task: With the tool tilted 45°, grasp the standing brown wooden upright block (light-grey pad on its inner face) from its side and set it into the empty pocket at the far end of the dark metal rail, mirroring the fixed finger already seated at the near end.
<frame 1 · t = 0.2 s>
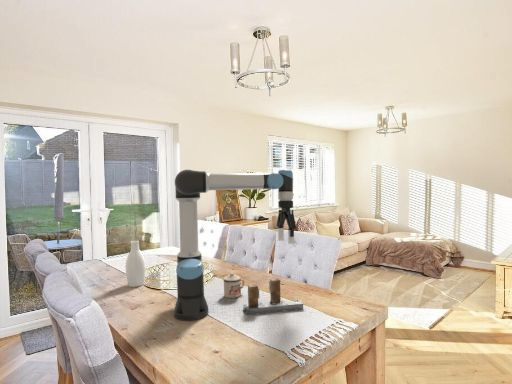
hand: (285, 242, 170), 27 cm above the table, tool pointing down, fingers open, 13 cm apart
teacup with lid: (234, 295, 173), on the table
bottle: (136, 285, 195), on the table
fixed finger: (253, 309, 154), on the table
rail: (274, 310, 151), on the table
brown wooden upright block: (275, 301, 162), on the table
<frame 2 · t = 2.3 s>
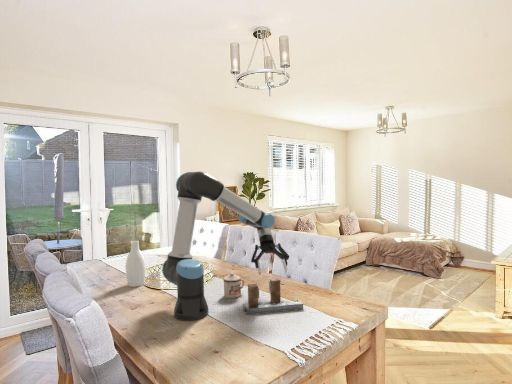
hand: (273, 272, 169), 12 cm above the table, tool tilted 45°, fingers open, 13 cm apart
nothing on the table moved.
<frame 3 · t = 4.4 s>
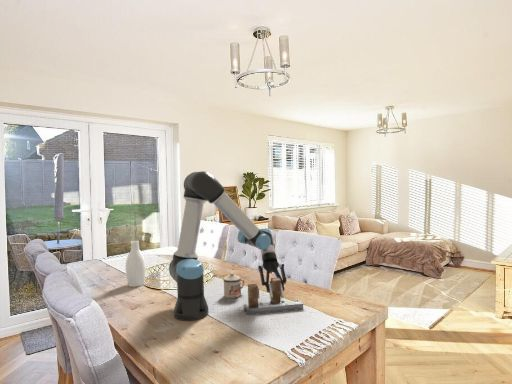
hand: (277, 297, 158), 3 cm above the table, tool tilted 45°, fingers closed on brown wooden upright block, 5 cm apart
brown wooden upright block: (275, 301, 162), on the table, touching gripper
everything else where it was.
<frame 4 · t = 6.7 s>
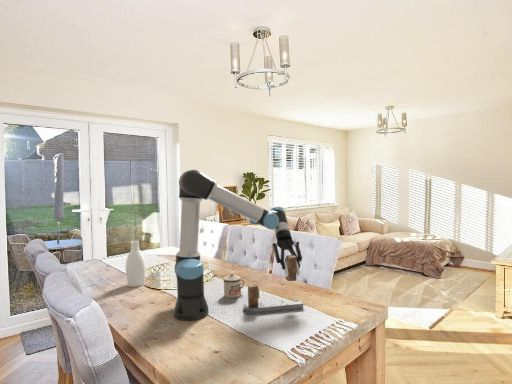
hand: (293, 274, 153), 16 cm above the table, tool tilted 45°, fingers closed on brown wooden upright block, 5 cm apart
brown wooden upright block: (291, 279, 156), point 12 cm above the table, touching gripper
everything else where it was.
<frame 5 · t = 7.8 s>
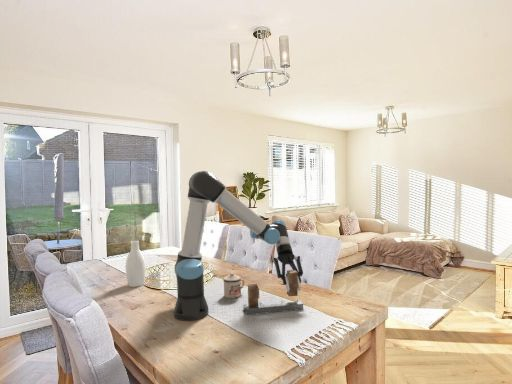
hand: (294, 290, 153), 8 cm above the table, tool tilted 45°, fingers closed on brown wooden upright block, 5 cm apart
brown wooden upright block: (292, 294, 157), point 5 cm above the table, touching gripper
everything else where it was.
when the fingers open (4 cm above the table, at t = 8.8 s): brown wooden upright block drops 1 cm, on the table.
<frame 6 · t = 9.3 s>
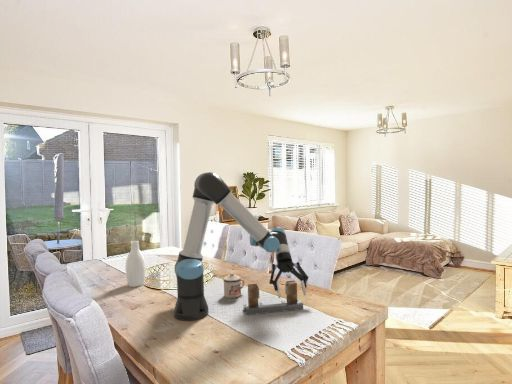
hand: (292, 295, 154), 6 cm above the table, tool tilted 45°, fingers open, 11 cm apart
brown wooden upright block: (291, 305, 157), on the table
everything else where it was.
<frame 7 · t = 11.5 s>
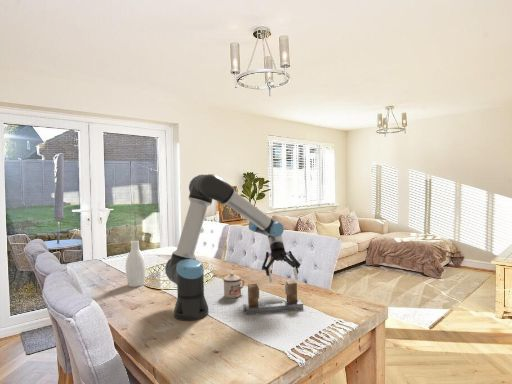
hand: (284, 280, 168), 8 cm above the table, tool tilted 45°, fingers open, 13 cm apart
nothing on the table moved.
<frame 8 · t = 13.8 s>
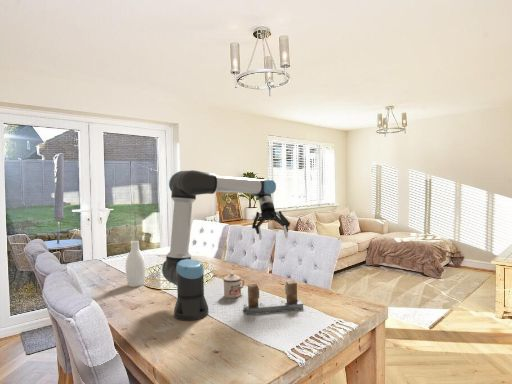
hand: (273, 237, 170), 30 cm above the table, tool tilted 45°, fingers open, 13 cm apart
nothing on the table moved.
at the end: brown wooden upright block 0.2 cm from the target spot, on the table; brown wooden upright block tilted 0°; the gripper is holding nothing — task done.
